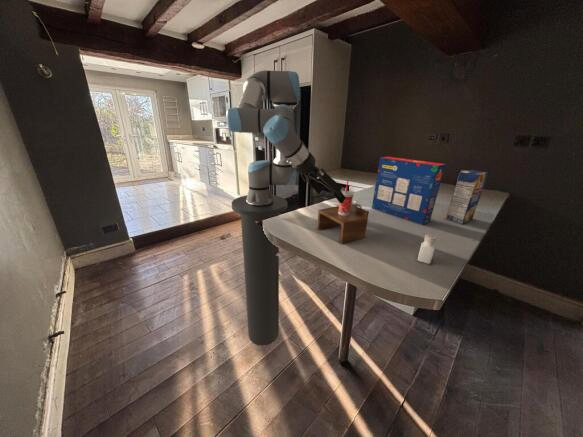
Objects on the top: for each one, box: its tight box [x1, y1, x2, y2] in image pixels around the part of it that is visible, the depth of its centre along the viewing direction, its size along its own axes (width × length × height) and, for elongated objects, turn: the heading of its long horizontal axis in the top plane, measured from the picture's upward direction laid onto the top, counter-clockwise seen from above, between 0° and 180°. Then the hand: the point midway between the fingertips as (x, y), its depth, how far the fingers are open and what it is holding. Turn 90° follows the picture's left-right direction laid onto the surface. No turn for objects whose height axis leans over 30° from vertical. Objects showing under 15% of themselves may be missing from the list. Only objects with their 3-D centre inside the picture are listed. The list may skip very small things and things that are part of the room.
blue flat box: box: [371, 156, 446, 226], centre depth 117 cm, size 28×8×28 cm, turn 38°
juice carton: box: [445, 169, 489, 225], centre depth 113 cm, size 12×8×24 cm, turn 124°
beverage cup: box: [338, 179, 355, 216], centre depth 94 cm, size 6×6×14 cm
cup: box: [352, 199, 363, 209], centre depth 116 cm, size 11×8×8 cm
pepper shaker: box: [417, 233, 437, 265], centre depth 79 cm, size 4×4×10 cm
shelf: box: [316, 204, 370, 245], centre depth 98 cm, size 16×13×11 cm
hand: (331, 195), depth 90 cm, fingers open, 13 cm apart
